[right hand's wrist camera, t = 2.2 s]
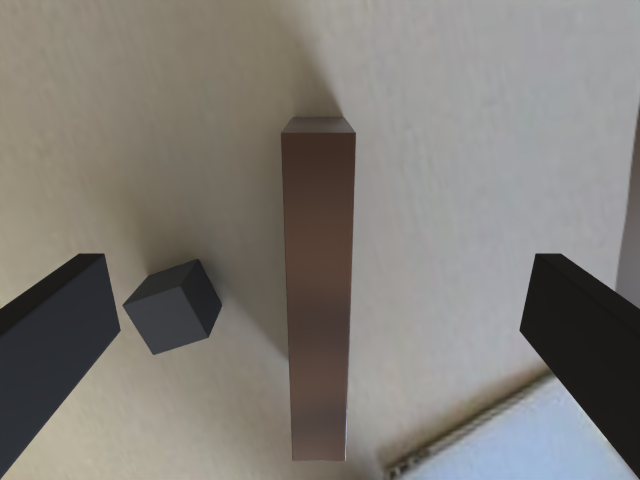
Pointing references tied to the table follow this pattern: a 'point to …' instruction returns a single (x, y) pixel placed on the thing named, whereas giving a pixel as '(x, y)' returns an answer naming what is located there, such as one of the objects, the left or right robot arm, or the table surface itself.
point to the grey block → (174, 307)
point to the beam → (318, 280)
